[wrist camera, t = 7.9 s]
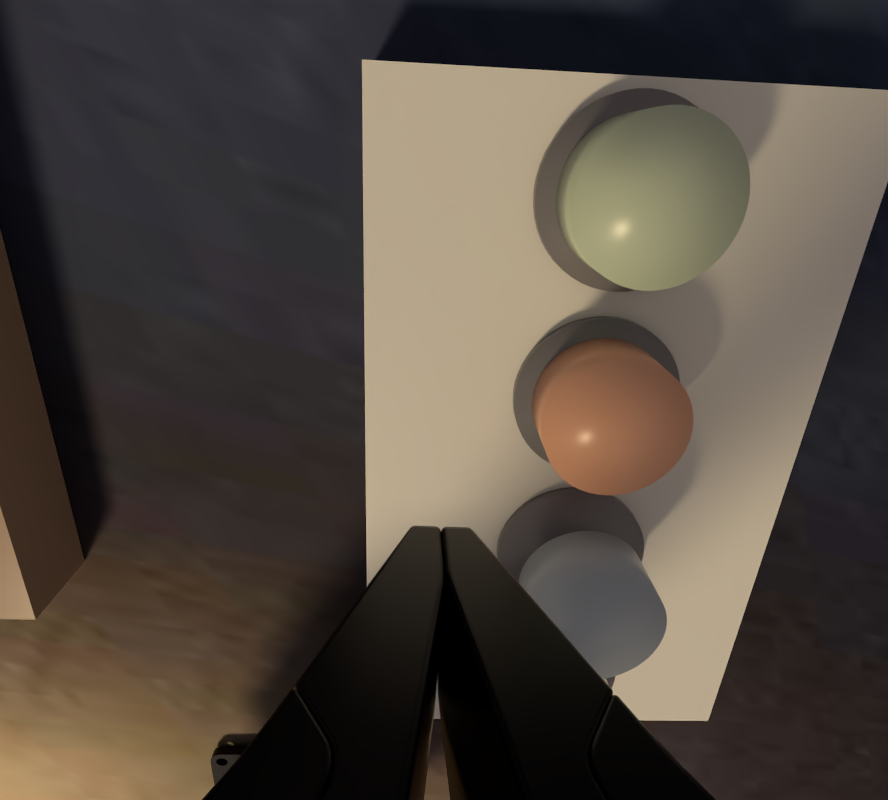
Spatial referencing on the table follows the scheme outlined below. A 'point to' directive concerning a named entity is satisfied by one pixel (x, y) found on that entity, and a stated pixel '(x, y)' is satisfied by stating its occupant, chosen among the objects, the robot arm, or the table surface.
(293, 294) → the table surface
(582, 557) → the slate button
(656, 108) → the sage button
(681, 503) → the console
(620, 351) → the terracotta button
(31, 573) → the planter tray
